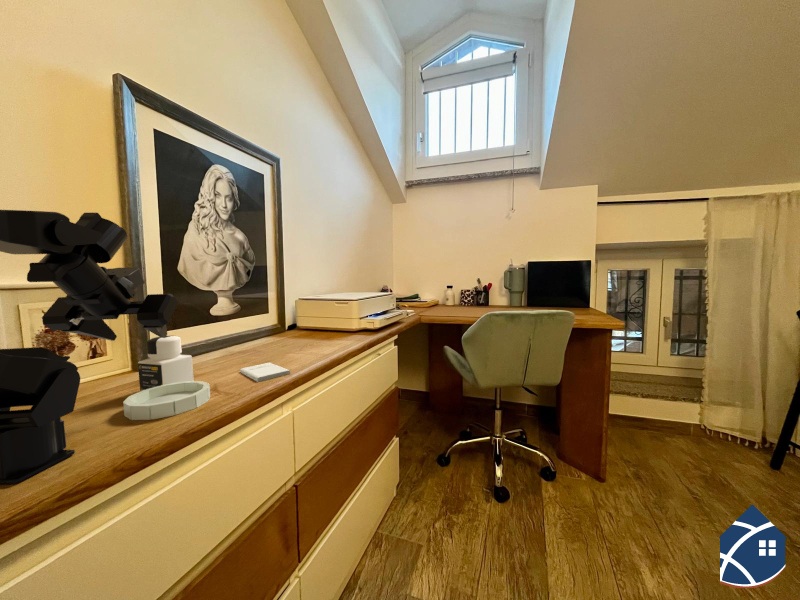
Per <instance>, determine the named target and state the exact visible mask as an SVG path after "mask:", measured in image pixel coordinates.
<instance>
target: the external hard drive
mask: <svg viewBox="0 0 800 600" xmlns="http://www.w3.org/2000/svg"><path fill="white" fill-rule="evenodd" d="M239 373H241V374H242V375H245V376H246V377H248V378H249V379H252V380H253V381H255V382H257V383H259V382H264V381H267V380H272V379H275V377H276V378H279V376H280V377H283V376H282V375H284V376H287V375H286V374H288V375H290V374H291V370H289V369H287V368H284V367H282V366H281V365H277V364H274V363H272V362H266V363H261V364H256V365H251V366H246V367H242V368H240V369H239ZM271 378H272V379H271Z"/></svg>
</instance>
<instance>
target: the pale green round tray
mask: <svg viewBox="0 0 800 600" xmlns="http://www.w3.org/2000/svg"><path fill="white" fill-rule="evenodd" d="M210 386H211V385H210V383H209V382H206V381H203V380H194V381H186V382H185V381H184V382H178V383H171V384H166V385H161V386H157V387H153V388H149V389H146V390H143V391H141V392H140V391H138V392H136V393H134V394H131V395H129V396H127V398H125V400H124V401H123V402H122V403H123V405H122V406H123V415H124V417H125V418H127V419H129V420H130V421H150V420H156V419H161V418H167V417H172V416H175V415H181V414H183V413H185V412H189V411H191V410H194V409H196V408H199V407H200V406H203V405H204V404H206V403H207V402H209V400H210V398H211V387H210Z"/></svg>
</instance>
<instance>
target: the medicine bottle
mask: <svg viewBox="0 0 800 600" xmlns="http://www.w3.org/2000/svg"><path fill="white" fill-rule="evenodd" d="M146 347H147V348H146V349H147V357H148V358H146V359H143V360H139V361H138V362H137V368H138V379H139V381H138V383H139V392H141V391H143V390H146V389H149V388H153V387H157V386H161V385H166V384H171V383H178V382H184V381H185V382H186V381H195V380H194V369H193V367H194V366H193V356H192V355H190V354H182V352H183V350H182V338H181V337H180V336H177V335H167V336H166V338H162V337H159V336H155V337H152V338H150V339H149V340H147V341H146Z"/></svg>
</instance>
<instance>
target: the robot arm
mask: <svg viewBox="0 0 800 600" xmlns="http://www.w3.org/2000/svg"><path fill="white" fill-rule="evenodd" d="M70 220H71V219H70V218H69V217H68V216H67V215H65V214H63V213H60V212H58V211H57V212H56V211H44V210H42V211H41V210H22V209H21V210H20V209H19V210H17V209H15V210H14V209H0V252H2V253H6V254H10V255H44V256H43V257H42V258H40V259H41V260H39V261H38V262H30V263H29V270H28V272H27V274H26V281H27V282H29V283H53V284H54V285H56V286H57V287H58V288H59V289H60V290H61V291H62V292H63V293H64V294H65V296H63V297H61V296H59V297H57V298H56V300H55V301H54V302H53V303H52V305H51V306H50V307H49V308H48V309H47V310H46V311H45V312H44V314H43V316H41V320H42V325H43V326H44V327H46V328H48V329H49V330H50V331H54V332H55V331H61V332H62V333H70V334H77V335H82V336H88V337H92V338H97V339H103V340H107V341H113V342H114V341H115V340H116V339H117V337H118V336H117V334H116V333H115V332H114V330H113V329H112V328H111V327H110V326H109V325H108V324H107V323H106V322H105V321H104V320H118V318H119V317H120V315H123V316H125V315H136V320H137V321H138V324H140V325H142V326H143V327H142V328H143V329H144V330H146V331H148V332H150V333H152V334H153V335H156V337H162V338H166V336H168V330H167V324H169V322H170V320H171V318H172V316H173V315H174V312H175V311H176V308H177V306H178V304H179V301H178V300H177V299H176V297H175V296H174V295H173V294H172V293H157V294H156V293H153V294H152V293H151V294H146V297H145V298H144V299H143V300H142V301H140V300H139V301H138V300H137V301H131V300H130V299H133V298H135V296H136V294H137V293H136V291H135V289H137V288H138V287H140V286H143V285H144V284H145V283H146V282H145V280H144V277H143V275H142V273H141V269H140V268H139V267H135V266H134V267H129V266H127V267H115V268H107V267H105V266H101V265H100V264H106V263H109V262H110V261H111V260H112V259H113V258H114V256H115V255H116V254H117V252H119V250H120V249H121V247H122V246H123V245H124V244H125V243H126V241H127V240H128V233H127V232H126V230H125V229H124V227H121V226H120V225H119V224H117V223H115V222H114V221H112V220H110V219H106V218H104V217H102V216H101V215H100V214H99V212H83V213H82V214H81V215H80V216H79V219H78V220H77V221H76V222H72V221H70ZM69 359H71V356H70V355H66V356H64V355H59V354H57V353H55V352H54V351H52V350H50V349H48V348H46V347H43V346H38V347H36V346H35V347H16V348H0V484H1V485H2V484H7V485H8V484H9V485H10V484H12V485H13V484H18V483H20V482H22V481H24V480H26V479H28V478H30V477H32V476H33V475H36V474H37V473H40V472H41V471H44V470H45V469H47V468H50V467H52V466H53V465H56V464H57V463H60V462H61V461H63V460H65V459H67V458H69V457H71V456H72V455H74V454H75V453H76V451H75V449H66V448H67V438H66V427H65V420H63V419H62V417H64V416H67V415H69V414H71V413H73V412H74V410H75V406H76V401H77V397H78V392H79V387H80V383H81V375H80V373H79V371H78V370H79V368H78V366H77V365H76V364H74V363H73V362H71V361H68V360H69ZM19 407H20V408H21V407H22V408H23V407H30V408H29V409H15V410H11V408H19Z"/></svg>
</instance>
